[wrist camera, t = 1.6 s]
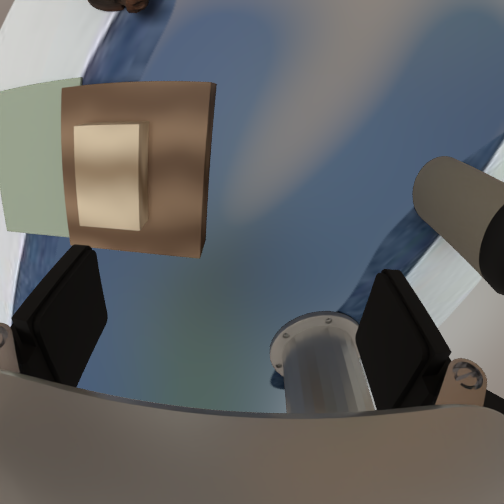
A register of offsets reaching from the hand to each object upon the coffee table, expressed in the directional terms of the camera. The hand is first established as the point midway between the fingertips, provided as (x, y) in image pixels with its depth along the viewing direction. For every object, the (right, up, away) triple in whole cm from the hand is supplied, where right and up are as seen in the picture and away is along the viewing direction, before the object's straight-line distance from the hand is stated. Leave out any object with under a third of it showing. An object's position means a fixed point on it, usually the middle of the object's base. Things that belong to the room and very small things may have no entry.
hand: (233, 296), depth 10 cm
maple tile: (-11, +9, +16) cm, 22 cm away
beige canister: (+22, +8, +21) cm, 31 cm away
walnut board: (-10, +10, +20) cm, 25 cm away
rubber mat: (-24, +12, +19) cm, 33 cm away
